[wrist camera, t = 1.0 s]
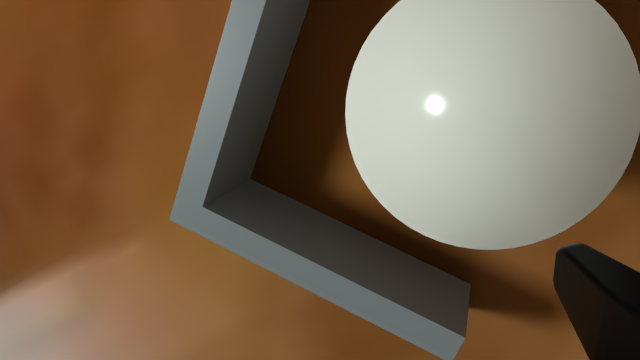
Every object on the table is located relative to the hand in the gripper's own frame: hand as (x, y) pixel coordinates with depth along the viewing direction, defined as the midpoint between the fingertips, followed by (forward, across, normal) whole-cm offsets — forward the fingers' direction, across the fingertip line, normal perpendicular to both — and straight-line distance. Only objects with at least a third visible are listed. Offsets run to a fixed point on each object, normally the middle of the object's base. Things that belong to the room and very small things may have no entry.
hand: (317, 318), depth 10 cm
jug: (+12, -9, +1) cm, 15 cm away
